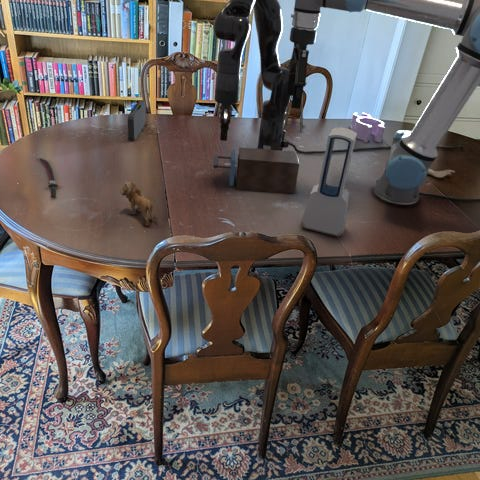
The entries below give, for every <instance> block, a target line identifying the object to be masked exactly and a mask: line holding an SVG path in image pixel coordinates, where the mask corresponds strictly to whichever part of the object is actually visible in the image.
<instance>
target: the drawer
mask: <svg viewBox="0 0 480 480" xmlns="http://www.w3.org/2000/svg"><path fill="white" fill-rule="evenodd" d="M230 152H231V153H230V156H225V155H218V154H214V156H213V165H212V166H213V169H215V170H217V169H229V173H228V175H229V178H228V179H229V187H230V186H231V187H233V186H234V180H235V171H236V175H237V180H238V170H239V158H238V157H237V164H238V168H237V167H236V150H235V149H231V151H230ZM219 159H226V160H230V164H229V165H223V164H222V165H219Z"/></svg>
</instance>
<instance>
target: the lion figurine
mask: <svg viewBox="0 0 480 480" xmlns="http://www.w3.org/2000/svg"><path fill="white" fill-rule="evenodd" d="M119 193H120V194H121V196H122V197H124V196H125V198H126V199H127V200H128V202H129V203H130V207H131V211H130V212H129V213H130V215H135V214H136V211H137V212H141V214H142V216H143V218H144V219H145V223H144V225H145V227H149V226H150V221H152V223H153V225H155V226H159V222H156V221H155V219H154V217H153V216H154V215H153V204H152V202H151V200H150V199H148V198H146V197H145V196H144V195H143V194H142V192H141V190H140V187H138V185H136V184H135V183H133V182H132V181H125V182H124V186H122V188H121V189H119ZM136 207H137V208H136ZM148 214H149V216H148Z"/></svg>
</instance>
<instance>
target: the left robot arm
mask: <svg viewBox="0 0 480 480" xmlns="http://www.w3.org/2000/svg"><path fill="white" fill-rule="evenodd" d="M252 11H253V16H254V24H255V30H256V35H257V42H258V44H257V45H258V50H259V58H260V59H259V60H260V77H261V79H260V80H261V82H262V83H261V84H262V85H263V87H264V88H265V89H266V90H268V91H270V98H269V99H266V100H263V102H262V105H261V114H260V123H259V131H258V138H257V139H258V140H257V148H256V149H267V150H280V151H284V150H283V149H286V148H289V146H291V147H293V149H294V152H296V153H298V154H305V155H310V154H325V151H326V150H311V151H302V150H299V149H298V148H297V146H296V145H295V144H293V143H292V142H290V141H289V140H287V139H286V138H285V136H286V130H285V129H284V125H285V122H286V121H285V120H286V117H287V109H288V108H289V106H290V104H291V99H292V96H291V95H286V91H287V85H288V78H289V74H291V73H289V68H286V67H284V66H281V64H280V60H279V51H278V50H279V44H280V40H281V38H282V35H283V31H284V22H283V12H282V7H281V4H280V2H279V1H278V0H229V1H228V2H227V3H226V4H225V5H224V6H223V8H222V9H221V10H220V11H219V12H218V14H217V15H216V17H215V19H214V22H213V25H212V31H213V35H214V36H215V38H216V39H218V40H220V41H225V42H232V43H234V46H233V47H232V48H223V49H221V50H219V51H218V54H217V66H216V67H217V68H216V73H215V74H216V75H215V85H214V86H215V87H214V101H215V102H216V103H218V104H221V105H219V123H220V125H219V129H220V136H219V140H220V142H221V141H222V142H227V140H228V131H229V129H230V124H231V119H232V115H233V106H231V105H236V104H238V103H239V101H240V99H239V98H240V89H241V69H242V59H243V54H244V50H245V47H246V45H247V41H248V39H249V36H250V34H251V22H250V20H249V17H250V15H251V14H252ZM458 146H460V144H458ZM391 147H392V145H389V146H388V145H387V146H372V147H371V146H370V147H358V148H357V147H356V148H353V152H359V151H372V150H384V149H385V150H386V149H391ZM457 148H458V147H453V146H443V147H437V148H436V149H444V150H445V149H446V150H447V149H449V150H451V149H457ZM459 148H460V149H461V150H464V146H462V147H459ZM344 152H345V153H346V152H347V148H345V149H333V150H332V153H344Z"/></svg>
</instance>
